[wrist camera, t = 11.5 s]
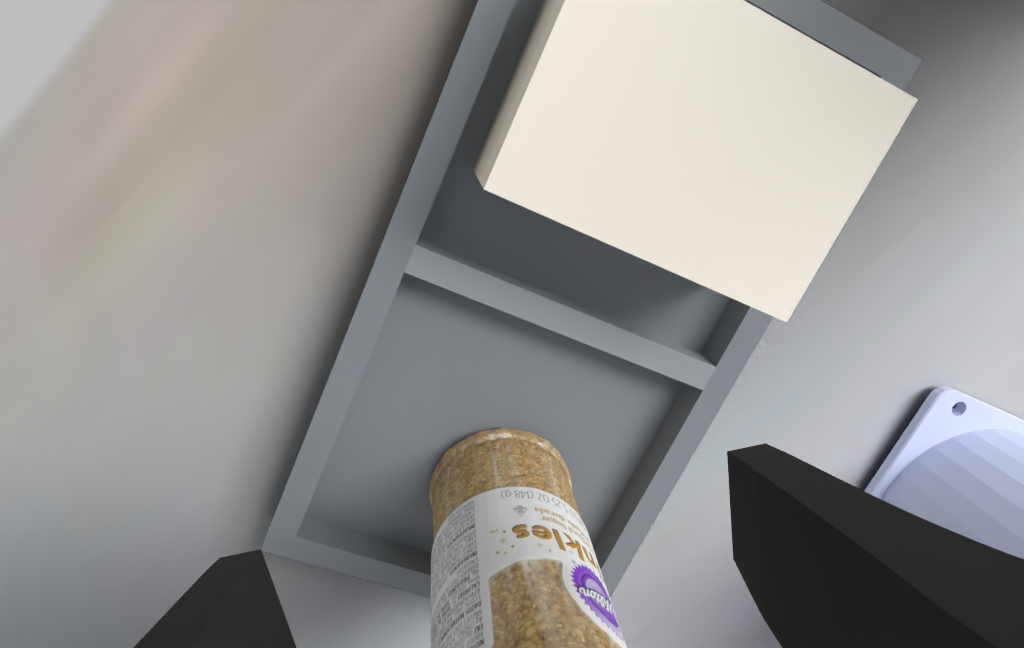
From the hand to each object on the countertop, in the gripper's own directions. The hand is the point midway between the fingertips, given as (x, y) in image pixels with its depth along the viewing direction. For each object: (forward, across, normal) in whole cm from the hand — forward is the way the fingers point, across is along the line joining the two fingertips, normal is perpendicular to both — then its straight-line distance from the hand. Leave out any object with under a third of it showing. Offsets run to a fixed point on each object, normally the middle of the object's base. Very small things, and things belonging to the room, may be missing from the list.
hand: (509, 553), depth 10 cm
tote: (+10, -3, 0) cm, 11 cm away
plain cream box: (+10, -6, -5) cm, 12 cm away
